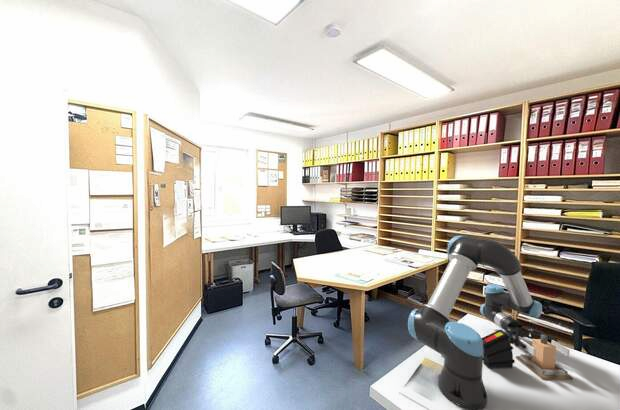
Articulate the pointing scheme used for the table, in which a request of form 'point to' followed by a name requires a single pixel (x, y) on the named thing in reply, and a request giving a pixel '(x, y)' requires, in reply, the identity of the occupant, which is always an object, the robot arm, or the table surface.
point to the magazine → (497, 350)
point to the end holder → (542, 373)
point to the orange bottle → (544, 353)
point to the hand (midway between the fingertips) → (551, 352)
